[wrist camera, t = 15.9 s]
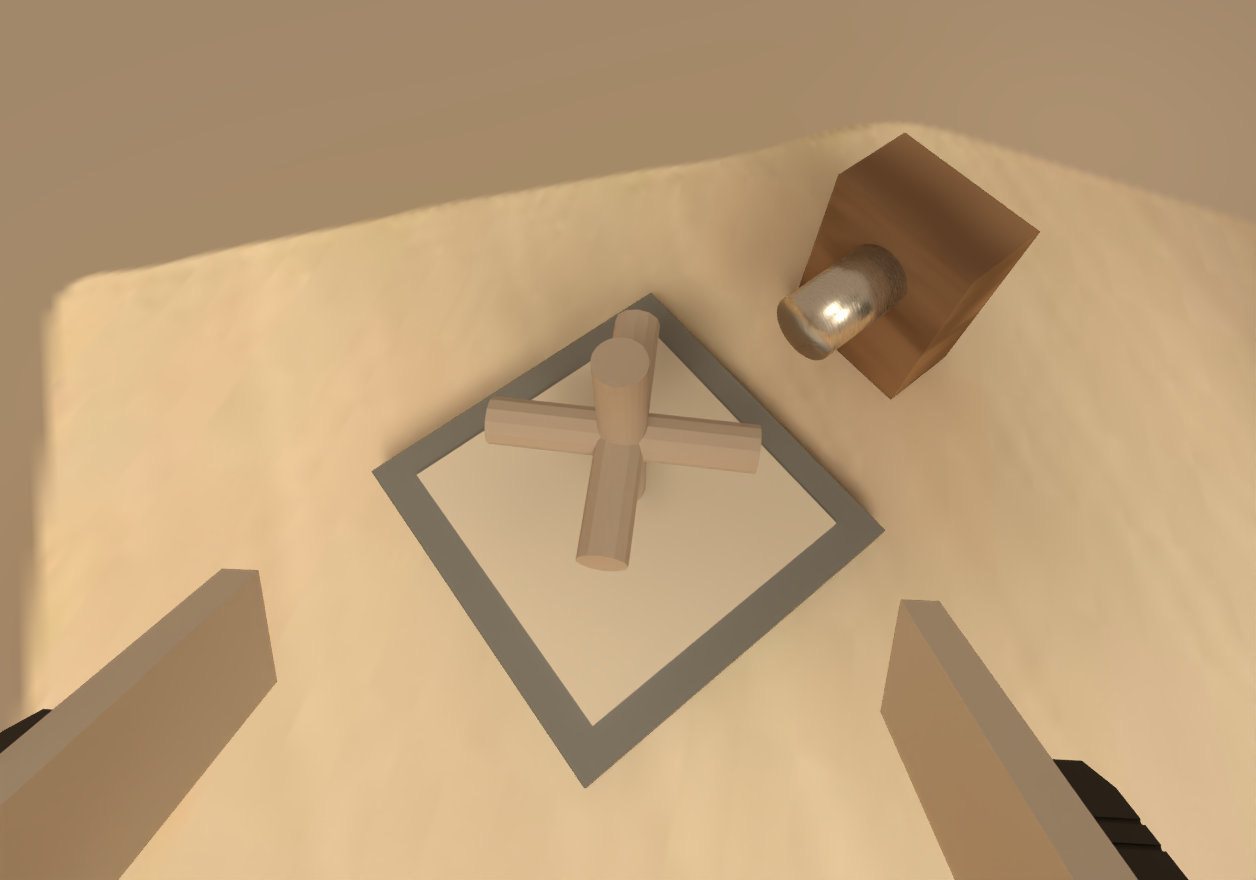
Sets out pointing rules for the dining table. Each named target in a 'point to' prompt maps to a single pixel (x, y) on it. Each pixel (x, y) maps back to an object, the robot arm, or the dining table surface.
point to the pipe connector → (621, 437)
